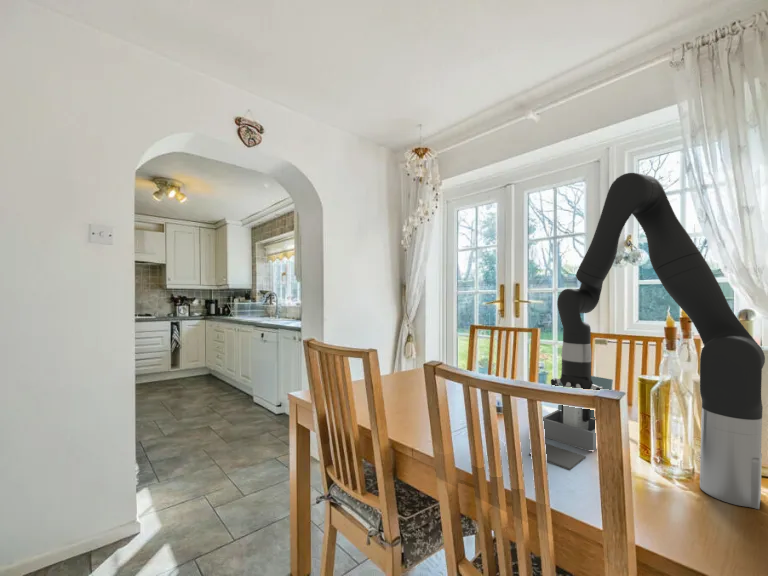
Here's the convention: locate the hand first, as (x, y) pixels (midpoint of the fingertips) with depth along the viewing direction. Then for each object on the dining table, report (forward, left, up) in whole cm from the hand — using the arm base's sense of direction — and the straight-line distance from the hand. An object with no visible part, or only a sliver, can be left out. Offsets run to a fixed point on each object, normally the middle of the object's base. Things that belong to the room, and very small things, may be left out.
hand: (575, 418), depth 106 cm
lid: (0, -7, +5) cm, 9 cm away
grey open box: (0, 0, -6) cm, 6 cm away
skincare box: (0, 0, -3) cm, 3 cm away
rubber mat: (-2, +16, -6) cm, 17 cm away
